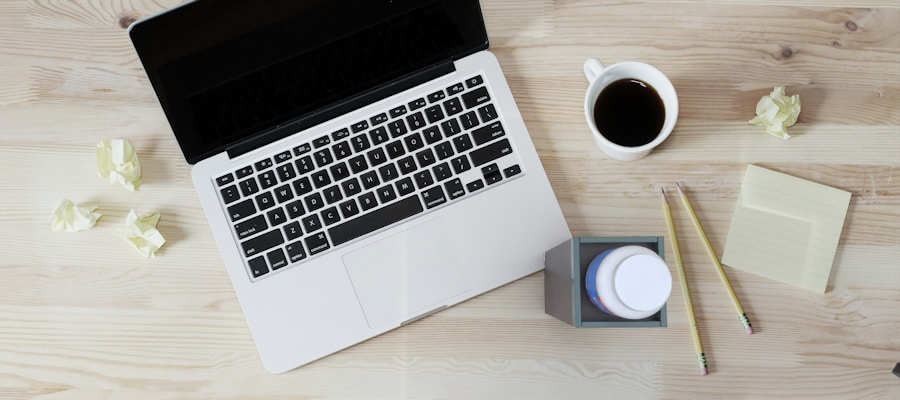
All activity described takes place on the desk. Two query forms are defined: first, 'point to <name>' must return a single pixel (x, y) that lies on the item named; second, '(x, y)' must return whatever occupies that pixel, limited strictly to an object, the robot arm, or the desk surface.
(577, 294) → the socket
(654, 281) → the pill bottle
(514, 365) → the desk surface
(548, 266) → the stand
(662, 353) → the desk surface
